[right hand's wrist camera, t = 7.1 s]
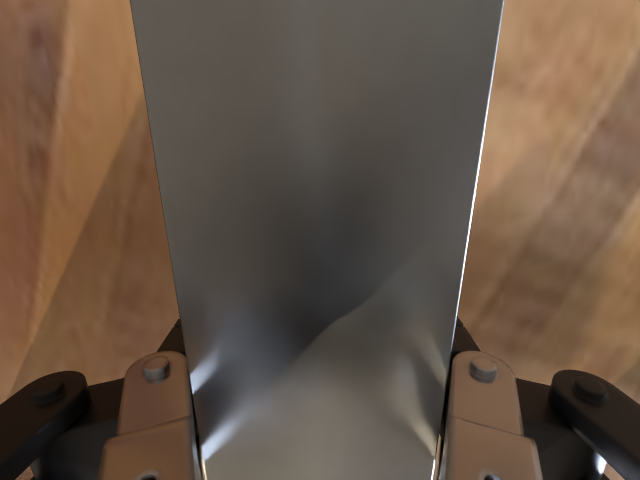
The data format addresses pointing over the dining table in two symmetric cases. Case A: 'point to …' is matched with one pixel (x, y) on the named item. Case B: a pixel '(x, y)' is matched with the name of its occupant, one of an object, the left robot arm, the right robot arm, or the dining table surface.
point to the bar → (317, 220)
